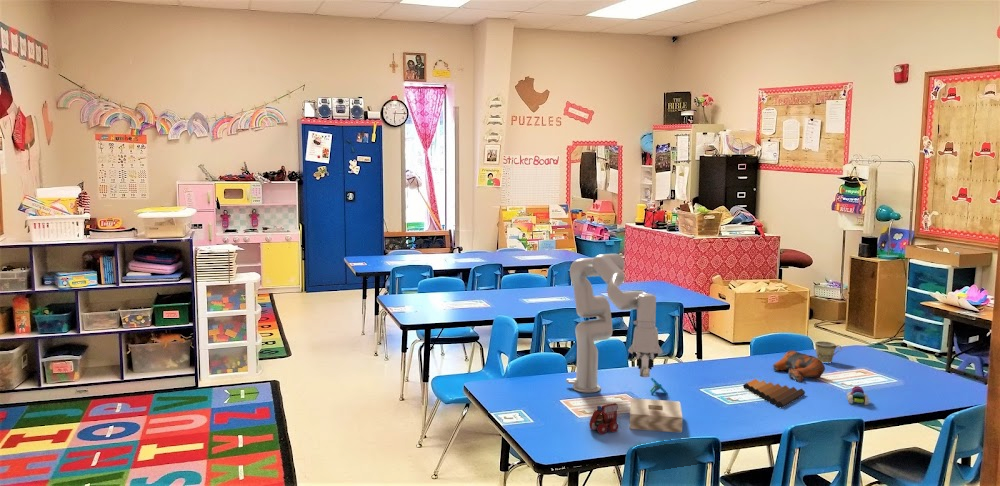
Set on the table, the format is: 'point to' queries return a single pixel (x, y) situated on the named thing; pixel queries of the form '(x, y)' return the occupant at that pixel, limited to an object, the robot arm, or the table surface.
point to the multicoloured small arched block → (857, 396)
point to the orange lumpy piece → (800, 365)
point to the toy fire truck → (604, 418)
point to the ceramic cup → (825, 351)
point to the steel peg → (644, 364)
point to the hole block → (655, 415)
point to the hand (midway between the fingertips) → (644, 367)
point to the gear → (657, 387)
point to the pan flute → (774, 392)
